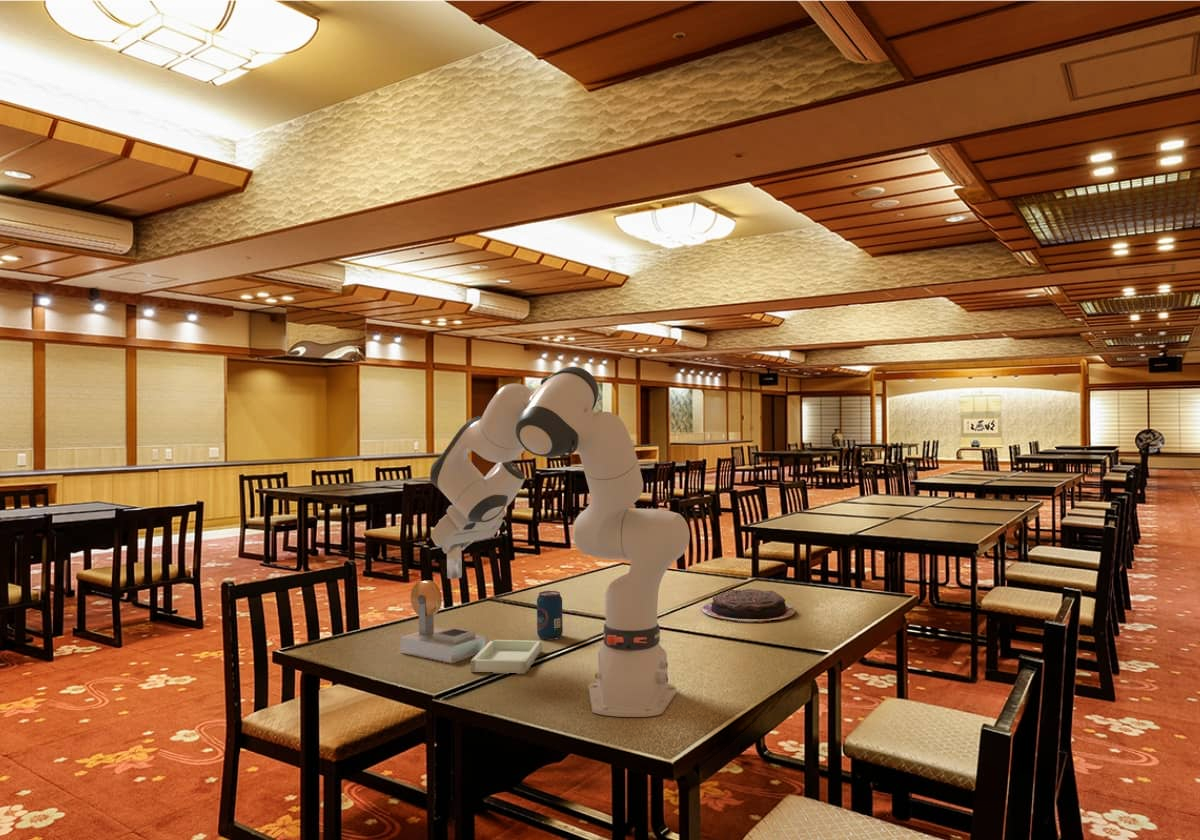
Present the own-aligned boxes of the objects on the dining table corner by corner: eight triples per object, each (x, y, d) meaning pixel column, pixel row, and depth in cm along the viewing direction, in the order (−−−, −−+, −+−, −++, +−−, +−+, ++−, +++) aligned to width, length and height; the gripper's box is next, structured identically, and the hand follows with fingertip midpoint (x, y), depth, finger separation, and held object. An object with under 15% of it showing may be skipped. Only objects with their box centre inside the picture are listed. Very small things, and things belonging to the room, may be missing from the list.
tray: (525, 673, 178) (525, 661, 178) (470, 672, 180) (470, 660, 180) (541, 651, 196) (541, 640, 196) (491, 650, 198) (491, 639, 198)
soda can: (532, 637, 211) (531, 592, 211) (552, 632, 215) (552, 589, 215) (547, 642, 205) (546, 596, 205) (567, 637, 210) (567, 593, 210)
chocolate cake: (699, 623, 225) (699, 600, 225) (703, 602, 252) (703, 582, 252) (798, 626, 220) (798, 603, 220) (792, 604, 247) (791, 583, 247)
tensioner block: (485, 651, 197) (484, 582, 197) (451, 663, 187) (450, 591, 187) (431, 641, 208) (430, 575, 208) (396, 651, 198) (396, 583, 198)
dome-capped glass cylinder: (461, 579, 193) (460, 528, 193) (441, 578, 193) (441, 528, 194) (467, 575, 198) (466, 526, 198) (448, 575, 198) (447, 526, 199)
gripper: (501, 500, 200) (474, 535, 206) (443, 507, 184) (415, 545, 189) (515, 518, 198) (487, 553, 203) (457, 526, 181) (428, 565, 186)
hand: (452, 549), depth 196 cm, fingers closed on dome-capped glass cylinder, 4 cm apart
